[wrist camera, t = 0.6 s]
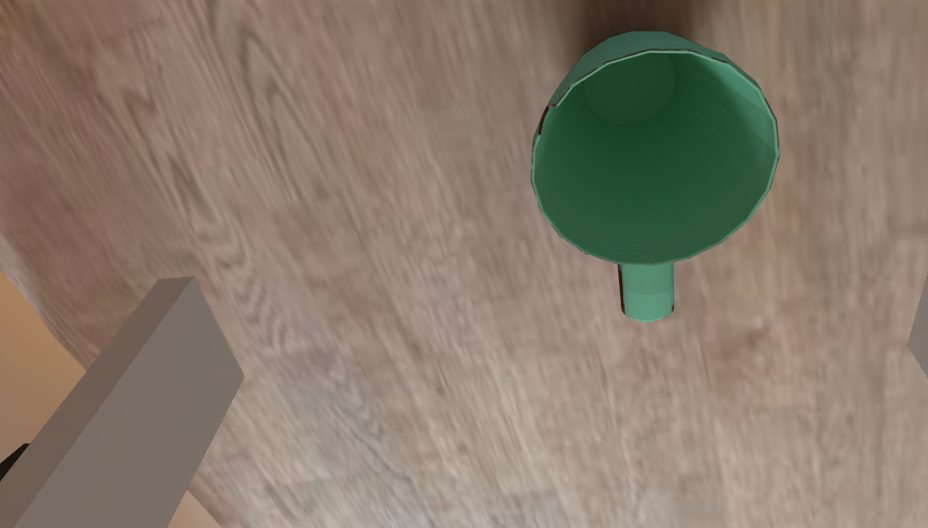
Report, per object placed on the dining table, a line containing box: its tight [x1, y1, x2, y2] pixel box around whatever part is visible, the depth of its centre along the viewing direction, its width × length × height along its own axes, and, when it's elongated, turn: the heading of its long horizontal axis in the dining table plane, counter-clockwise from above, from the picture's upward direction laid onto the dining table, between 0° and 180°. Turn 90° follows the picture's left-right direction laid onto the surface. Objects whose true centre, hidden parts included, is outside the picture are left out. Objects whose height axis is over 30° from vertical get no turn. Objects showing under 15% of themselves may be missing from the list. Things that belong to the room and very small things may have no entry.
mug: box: [531, 31, 780, 322], centre depth 32 cm, size 15×10×10 cm
